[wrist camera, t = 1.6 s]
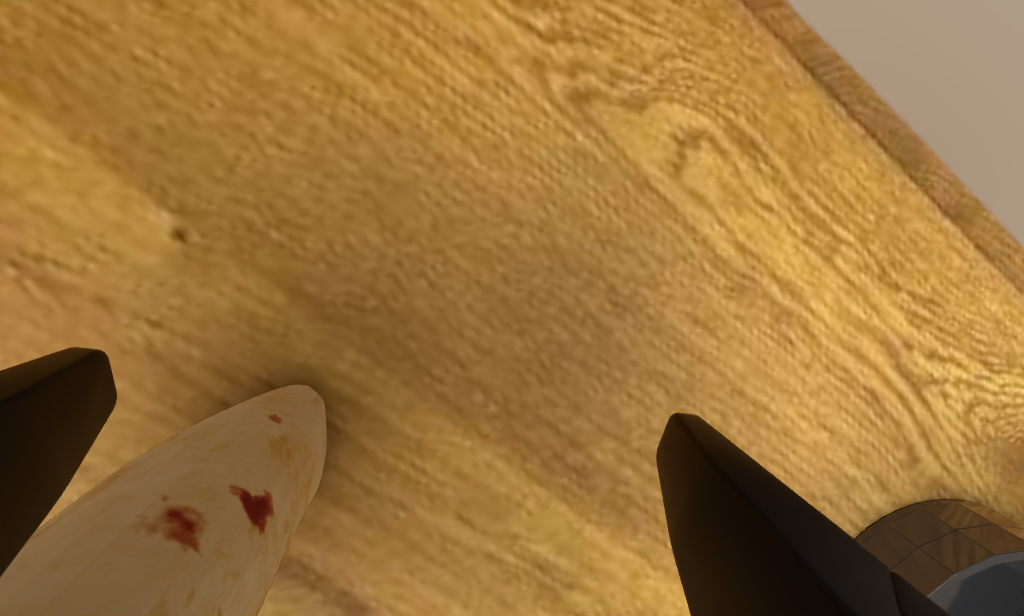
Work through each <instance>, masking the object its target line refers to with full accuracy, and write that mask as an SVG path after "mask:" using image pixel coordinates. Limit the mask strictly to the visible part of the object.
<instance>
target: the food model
mask: <svg viewBox="0 0 1024 616" xmlns="http://www.w3.org/2000/svg"><path fill="white" fill-rule="evenodd" d="M326 451H327V428H326V412H325V403H324V401H323V400H322V398H321V397H320V396H319V394H318V393H317V392H316V391H314V390H313V389H312V388H310V387H309V386H307V385H290V386H286V387H282V388H278V389H274V390H272V391H269V392H266V393H264V394H261V395H259V396H256V397H254V398H251V399H249V400H246V401H244V402H242V403H239V404H237V405H235V406H232V407H230V408H228V409H226V410H224V411H222V412H219V413H217V414H215V415H213V416H211V417H209V418H207V419H205V420H203V421H201V422H198V423H196V424H194V425H192V426H190V427H188V428H186V429H185V430H183V431H181V432H180V433H178V434H176V435H175V436H173V437H171V438H170V439H168V440H166V441H165V442H163V443H161V444H159V445H158V446H156V447H154V448H153V449H151V450H149V451H147V452H146V453H144V454H142V455H141V456H139V457H137V458H135V459H134V460H132V461H130V462H129V463H127V464H126V465H125V466H123V467H122V468H120V469H119V470H117V471H116V472H115V473H113V474H112V475H110V476H109V477H107V478H106V479H105V480H103V481H102V482H100V483H99V484H98V485H96V486H95V487H94V488H92V489H91V490H90V491H88V492H87V493H86V494H84V495H83V496H81V497H80V498H79V499H77V500H76V501H75V502H73V503H72V504H71V505H69V506H68V507H67V508H65V509H64V510H63V511H61V512H60V513H59V514H57V515H56V516H55V517H53V518H52V519H51V520H49V521H48V522H47V523H45V524H44V525H43V526H41V527H40V528H39V529H37V530H36V531H35V532H34V533H33V535H32V536H31V537H30V539H29V540H28V541H27V543H26V544H25V545H24V547H23V548H22V549H21V551H20V552H19V553H18V555H17V556H16V557H15V559H14V560H13V561H12V563H11V564H10V565H9V567H8V568H7V569H6V571H5V572H4V573H3V575H2V576H1V577H0V616H258V613H259V611H260V609H261V607H262V604H263V602H264V600H265V597H266V595H267V593H268V591H269V588H270V586H271V584H272V581H273V579H274V577H275V574H276V572H277V570H278V567H279V565H280V563H281V561H282V558H283V556H284V554H285V551H286V549H287V547H288V545H289V543H290V541H291V539H292V537H293V535H294V533H295V531H296V529H297V527H298V525H299V523H300V521H301V519H302V517H303V515H304V513H305V511H306V510H307V508H308V506H309V504H310V502H311V501H312V499H313V497H314V495H315V493H316V491H317V489H318V487H319V484H320V481H321V477H322V472H323V467H324V462H325V456H326Z"/></svg>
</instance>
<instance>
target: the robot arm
mask: <svg viewBox="0 0 1024 616" xmlns="http://www.w3.org/2000/svg"><path fill="white" fill-rule="evenodd" d="M116 400H117V391H116V387H115V383H114V379H113V374H112V370H111V366H110V362H109V358H108V356H107V355H106V353H105V352H103V351H101V350H98V349H89V348H80V347H71V348H67V349H64V350H61V351H58V352H55V353H52V354H49V355H46V356H43V357H40V358H37V359H34V360H31V361H28V362H25V363H22V364H19V365H16V366H13V367H10V368H7V369H4V370H1V371H0V577H1V576H2V575H3V573H4V572H5V571H6V569H7V568H8V567H9V565H10V564H11V563H12V561H13V560H14V559H15V557H16V556H17V555H18V553H19V552H20V551H21V549H22V548H23V547H24V545H25V544H26V543H27V541H28V540H29V539H30V537H31V536H32V535H33V533H34V532H35V531H36V529H37V528H38V527H39V525H40V524H41V523H42V521H43V520H44V519H45V517H46V516H47V515H48V513H49V512H50V511H51V509H52V508H53V506H54V505H55V504H56V502H57V501H58V499H59V498H60V496H61V495H62V493H63V492H64V490H65V489H66V487H67V486H68V484H69V483H70V481H71V479H72V478H73V476H74V474H75V473H76V471H77V469H78V468H79V466H80V464H81V463H82V461H83V459H84V458H85V456H86V454H87V453H88V451H89V449H90V448H91V446H92V444H93V443H94V441H95V439H96V438H97V436H98V434H99V433H100V431H101V429H102V428H103V426H104V424H105V423H106V421H107V419H108V418H109V416H110V414H111V413H112V411H113V409H114V407H115V404H116ZM656 461H657V467H658V473H659V479H660V485H661V491H662V497H663V502H664V508H665V514H666V520H667V526H668V532H669V537H670V542H671V546H672V550H673V554H674V558H675V562H676V565H677V569H678V572H679V576H680V579H681V583H682V586H683V590H684V593H685V597H686V600H687V604H688V607H689V611H690V614H691V616H951V615H950V614H949V613H948V612H946V611H945V610H944V609H942V608H941V607H940V606H938V605H937V604H936V603H935V602H933V601H932V600H931V599H929V598H928V597H927V596H925V595H924V594H923V593H922V592H920V591H919V590H918V589H917V588H915V587H914V586H913V585H912V584H910V583H909V582H908V581H907V580H905V579H904V578H903V577H902V576H900V575H899V574H898V573H897V572H895V571H890V569H889V567H888V566H887V565H886V564H885V563H884V562H882V561H881V560H880V559H879V558H877V557H876V556H875V555H874V554H872V553H871V552H870V551H869V550H867V549H866V548H865V547H863V546H862V545H861V544H860V543H858V542H857V541H856V540H855V539H853V538H852V537H851V536H850V535H848V534H847V533H846V532H845V531H843V530H842V529H841V528H839V527H838V526H837V525H836V524H834V523H833V522H832V521H831V520H829V519H828V518H827V517H826V516H824V515H823V514H822V513H821V512H819V511H818V510H817V509H815V508H814V507H813V506H812V505H810V504H809V503H808V502H807V501H805V500H804V499H803V498H802V497H800V496H799V495H798V494H797V493H795V492H794V491H793V490H791V489H790V488H789V487H788V486H786V485H785V484H784V483H783V482H781V481H780V480H779V479H778V478H776V477H775V476H774V475H773V474H771V473H770V472H769V471H767V470H766V469H765V468H764V467H762V466H761V465H760V464H759V463H757V462H756V461H755V460H754V459H752V458H751V457H750V456H749V455H747V454H746V453H745V452H743V451H742V450H741V449H740V448H738V447H737V446H736V445H735V444H733V443H732V442H731V441H730V440H728V439H727V438H726V437H725V436H723V435H722V434H721V433H719V432H718V431H717V430H716V429H714V428H713V427H712V426H711V425H709V424H708V423H707V422H706V421H704V420H703V419H702V418H700V417H699V416H697V415H694V414H685V413H674V414H672V415H671V417H670V418H669V420H668V423H667V425H666V428H665V430H664V433H663V436H662V438H661V441H660V443H659V446H658V449H657V455H656Z"/></svg>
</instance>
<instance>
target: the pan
mask: <svg viewBox="0 0 1024 616" xmlns="http://www.w3.org/2000/svg"><path fill="white" fill-rule="evenodd" d="M855 540H856V541H857V542H858V543H860V544H861V545H862V546H863V547H865V548H866V549H867V550H869V551H870V552H871V553H872V554H874V555H875V556H876V557H877V558H879V559H880V560H881V561H882V562H884V563H885V564H886V565H887V566H888V567H889V569H890V571H895V572H897V573H898V574H899V575H900V576H902V577H903V578H904V579H905V580H907V581H908V582H909V583H910V584H912V585H913V586H914V587H915V588H917V589H918V590H919V591H920V592H922V593H923V594H924V595H925V596H927V597H928V598H929V599H931V600H932V601H933V602H935V603H936V604H937V605H938V606H940V607H941V608H942V609H944V610H945V611H946V612H948V613H949V614H950V615H951V616H1024V527H1023V526H1022V525H1020V524H1018V523H1016V522H1014V521H1013V520H1011V519H1009V518H1007V517H1005V516H1003V515H1002V514H1000V513H998V512H996V511H994V510H992V509H989V508H987V507H985V506H981V505H978V504H975V503H972V502H966V501H960V500H935V501H927V502H923V503H918V504H914V505H911V506H908V507H906V508H903V509H900V510H898V511H896V512H894V513H892V514H890V515H888V516H886V517H884V518H882V519H881V520H879V521H878V522H876V523H874V524H873V525H871V526H870V527H869V528H868V529H866V530H865V531H864V532H863V533H862V534H860V535H859V536H858V537H857V538H856V539H855Z"/></svg>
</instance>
